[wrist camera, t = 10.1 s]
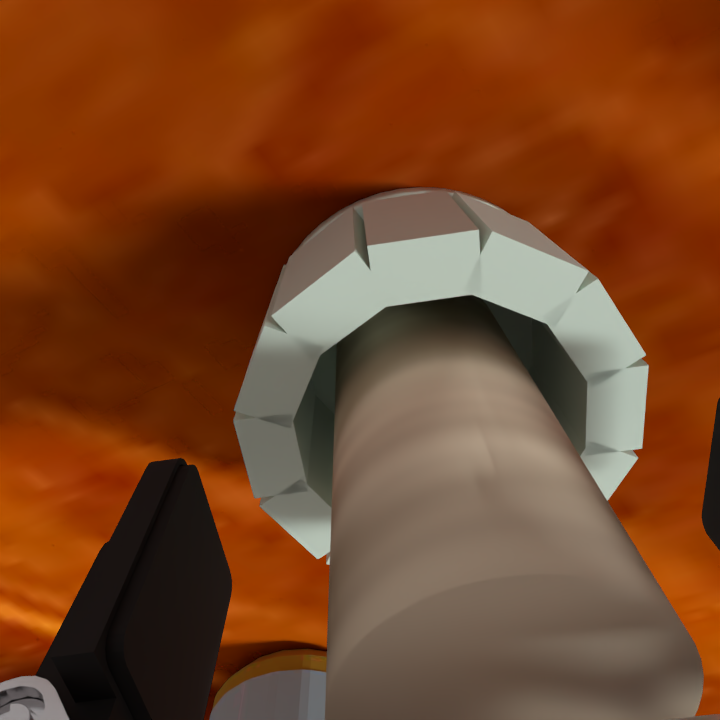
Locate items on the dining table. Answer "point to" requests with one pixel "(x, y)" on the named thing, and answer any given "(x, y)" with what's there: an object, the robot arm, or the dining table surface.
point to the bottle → (276, 688)
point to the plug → (480, 544)
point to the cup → (417, 284)
